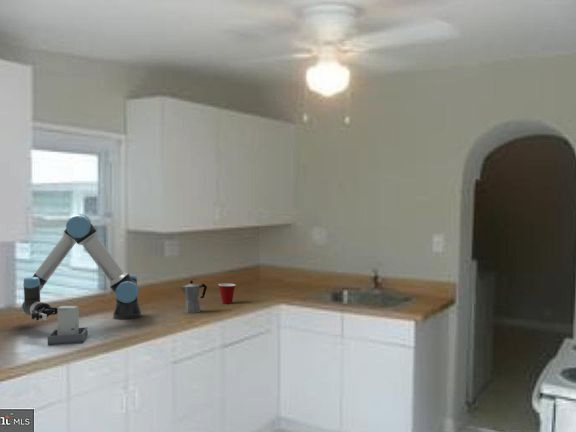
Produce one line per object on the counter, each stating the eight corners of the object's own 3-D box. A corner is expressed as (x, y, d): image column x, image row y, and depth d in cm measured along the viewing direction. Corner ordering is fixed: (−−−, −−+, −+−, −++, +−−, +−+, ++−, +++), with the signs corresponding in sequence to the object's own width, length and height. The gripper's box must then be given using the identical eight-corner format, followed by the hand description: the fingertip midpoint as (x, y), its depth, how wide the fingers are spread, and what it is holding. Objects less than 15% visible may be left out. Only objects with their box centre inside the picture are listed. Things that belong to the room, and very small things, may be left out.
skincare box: (57, 339, 268) (55, 307, 267) (62, 336, 274) (61, 305, 273) (75, 339, 267) (73, 307, 267) (80, 336, 273) (78, 305, 273)
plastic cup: (238, 303, 353) (238, 284, 352) (221, 305, 349) (220, 285, 348) (233, 301, 363) (233, 282, 362) (216, 302, 359) (216, 283, 358)
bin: (87, 335, 279) (87, 327, 279) (83, 342, 264) (82, 334, 264) (54, 337, 276) (54, 329, 276) (47, 345, 261) (47, 336, 261)
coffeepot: (182, 314, 325) (181, 282, 324) (179, 311, 334) (178, 280, 333) (209, 311, 330) (208, 280, 330) (205, 309, 339) (204, 278, 339)
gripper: (65, 313, 299) (85, 318, 284) (15, 321, 281) (34, 327, 266) (64, 298, 299) (84, 303, 284) (14, 306, 281) (33, 311, 266)
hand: (60, 315), depth 275 cm, fingers open, 13 cm apart
